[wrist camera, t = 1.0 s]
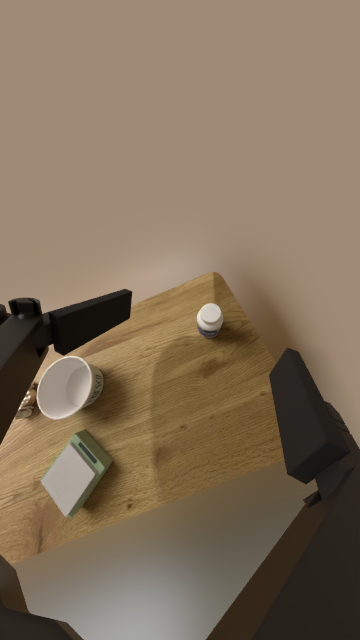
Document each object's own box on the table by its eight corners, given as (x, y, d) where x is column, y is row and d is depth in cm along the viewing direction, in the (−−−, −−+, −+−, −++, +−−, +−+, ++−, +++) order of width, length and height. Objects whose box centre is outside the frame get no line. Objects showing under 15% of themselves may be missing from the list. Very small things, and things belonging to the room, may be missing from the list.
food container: (66, 362, 42) (43, 359, 36) (110, 357, 41) (94, 352, 35) (57, 415, 37) (29, 422, 31) (107, 411, 36) (88, 417, 30)
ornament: (16, 386, 41) (-1, 386, 38) (41, 378, 41) (27, 378, 38) (12, 421, 38) (-6, 425, 35) (40, 413, 38) (24, 416, 35)
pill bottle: (194, 333, 40) (191, 319, 31) (203, 314, 42) (203, 296, 32) (214, 342, 39) (218, 330, 30) (223, 323, 40) (229, 306, 31)
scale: (113, 460, 33) (102, 470, 29) (81, 506, 31) (66, 523, 27) (84, 429, 36) (72, 434, 32) (54, 470, 34) (37, 480, 30)
